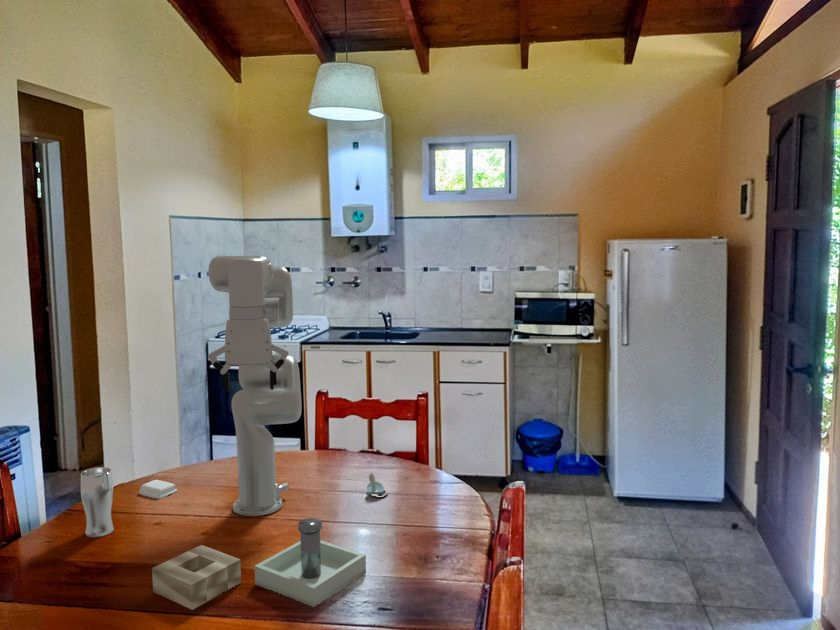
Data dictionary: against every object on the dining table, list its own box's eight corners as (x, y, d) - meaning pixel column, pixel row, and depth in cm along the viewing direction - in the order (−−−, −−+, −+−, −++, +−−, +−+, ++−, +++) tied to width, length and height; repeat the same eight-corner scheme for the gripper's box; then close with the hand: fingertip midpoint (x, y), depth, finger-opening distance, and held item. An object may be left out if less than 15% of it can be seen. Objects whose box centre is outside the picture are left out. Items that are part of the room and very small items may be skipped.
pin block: (202, 567, 144) (201, 544, 143) (241, 582, 137) (240, 559, 136) (153, 591, 134) (151, 568, 133) (192, 609, 127) (191, 585, 126)
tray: (309, 553, 150) (308, 536, 149) (366, 572, 141) (365, 554, 140) (255, 584, 136) (254, 565, 136) (314, 608, 127) (313, 588, 127)
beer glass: (103, 539, 157) (99, 477, 155) (76, 537, 158) (72, 475, 157) (121, 526, 164) (118, 467, 162) (96, 524, 165) (92, 465, 163)
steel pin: (310, 566, 142) (309, 516, 140) (327, 572, 139) (326, 521, 138) (294, 575, 138) (293, 524, 136) (312, 582, 135) (310, 530, 134)
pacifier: (388, 490, 187) (367, 489, 187) (389, 468, 187) (367, 467, 187) (387, 500, 180) (365, 499, 180) (387, 478, 179) (365, 477, 179)
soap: (179, 492, 187) (179, 482, 186) (159, 501, 181) (159, 490, 180) (156, 486, 191) (156, 477, 191) (136, 495, 185) (136, 484, 185)
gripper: (286, 310, 154) (289, 384, 156) (208, 312, 150) (211, 387, 152) (287, 314, 146) (289, 391, 149) (204, 317, 143) (208, 395, 145)
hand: (250, 389), depth 150 cm, fingers open, 9 cm apart
